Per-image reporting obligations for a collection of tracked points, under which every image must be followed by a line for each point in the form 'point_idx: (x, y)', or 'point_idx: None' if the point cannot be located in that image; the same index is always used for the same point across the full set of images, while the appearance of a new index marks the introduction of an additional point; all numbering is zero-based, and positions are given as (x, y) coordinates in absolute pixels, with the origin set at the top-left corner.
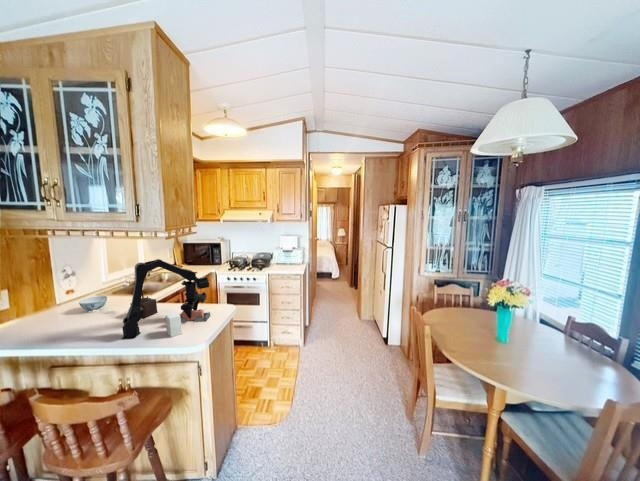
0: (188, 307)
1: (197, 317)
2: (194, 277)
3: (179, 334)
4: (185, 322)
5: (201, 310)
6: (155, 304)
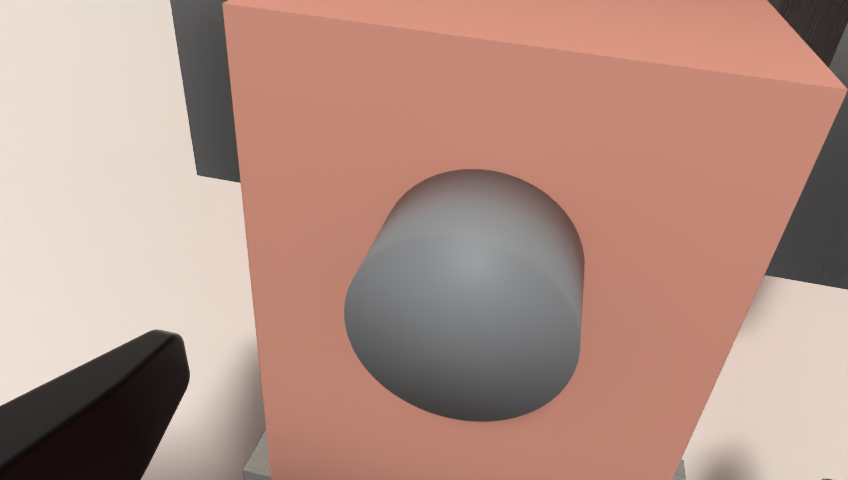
0: None
1: (816, 220)
2: None
3: None
4: (682, 469)
5: (410, 169)
6: None
